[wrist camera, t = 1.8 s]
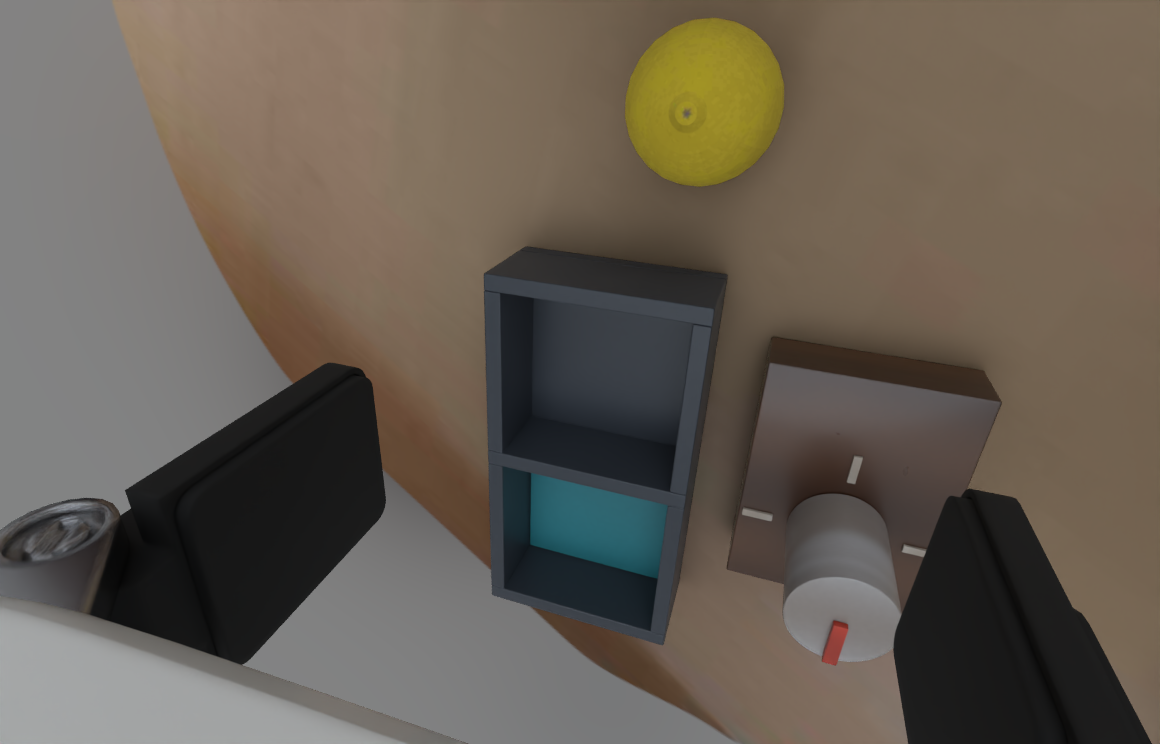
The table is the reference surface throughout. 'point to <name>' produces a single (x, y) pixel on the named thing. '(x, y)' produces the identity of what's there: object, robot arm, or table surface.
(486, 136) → the table surface
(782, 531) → the tap panel
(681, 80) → the lemon
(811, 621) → the tap knob
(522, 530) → the compartment box
